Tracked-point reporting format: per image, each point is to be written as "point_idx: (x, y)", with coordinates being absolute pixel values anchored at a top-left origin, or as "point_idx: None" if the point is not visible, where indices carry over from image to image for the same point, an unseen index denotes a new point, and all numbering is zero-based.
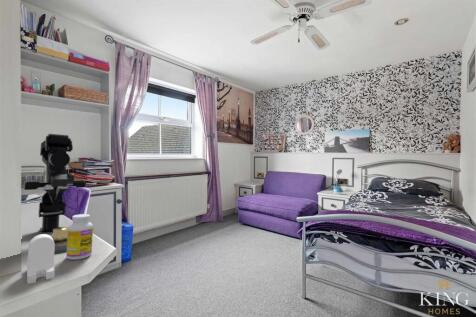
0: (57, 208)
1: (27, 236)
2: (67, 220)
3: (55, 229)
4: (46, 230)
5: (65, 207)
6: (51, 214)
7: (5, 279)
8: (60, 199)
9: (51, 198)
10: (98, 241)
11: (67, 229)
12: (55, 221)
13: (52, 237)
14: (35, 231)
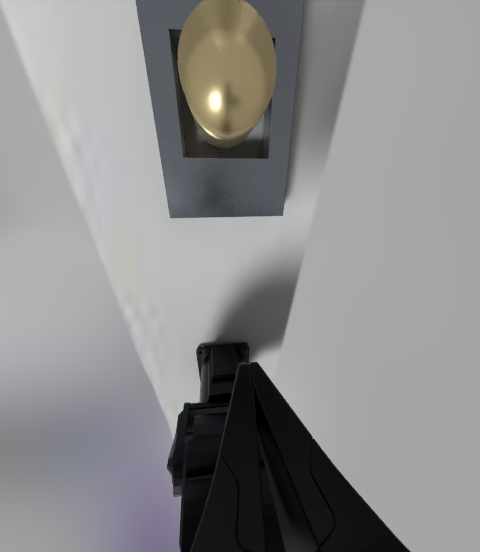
0: (210, 427)
1: (285, 323)
2: (172, 429)
3: (264, 70)
4: (236, 348)
5: (172, 446)
6: (228, 406)
7: None
8: (194, 502)
9: (316, 447)
10: (28, 33)
11: (188, 20)
12: (214, 371)
13: (246, 193)
14: (258, 361)
